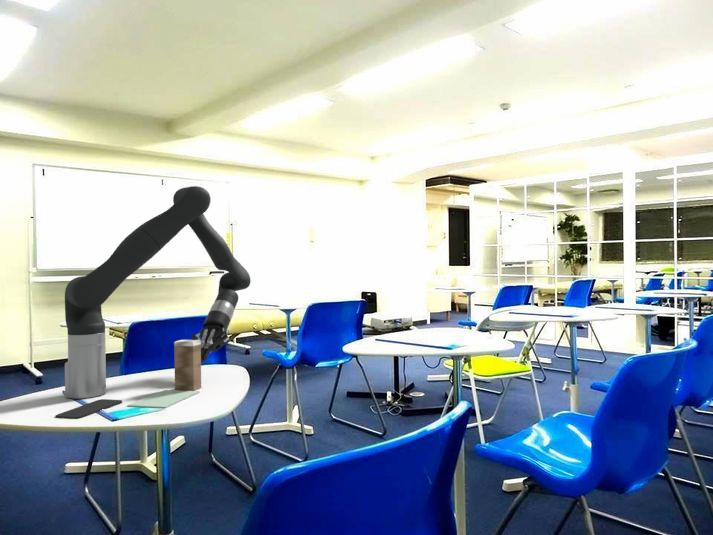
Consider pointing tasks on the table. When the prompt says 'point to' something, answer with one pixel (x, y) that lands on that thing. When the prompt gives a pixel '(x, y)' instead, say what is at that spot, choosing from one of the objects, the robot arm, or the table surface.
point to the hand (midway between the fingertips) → (200, 361)
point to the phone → (88, 409)
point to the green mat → (164, 399)
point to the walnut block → (187, 365)
